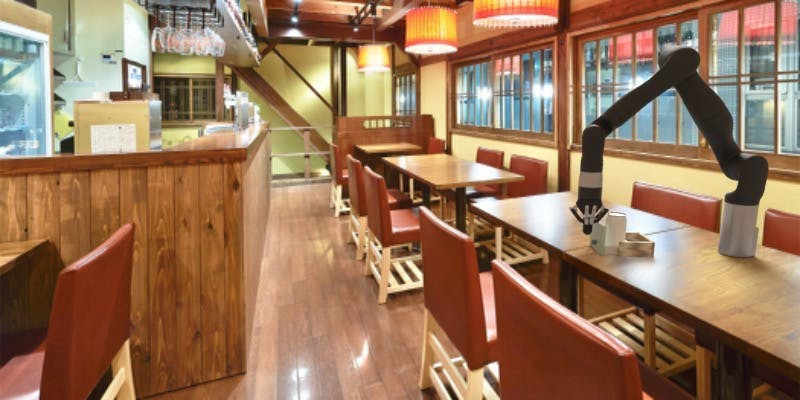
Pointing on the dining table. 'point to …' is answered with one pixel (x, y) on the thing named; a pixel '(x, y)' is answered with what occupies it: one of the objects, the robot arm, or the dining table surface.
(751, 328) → the dining table surface
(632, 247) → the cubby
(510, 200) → the dining table surface
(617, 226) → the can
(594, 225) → the bracket
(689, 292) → the dining table surface
